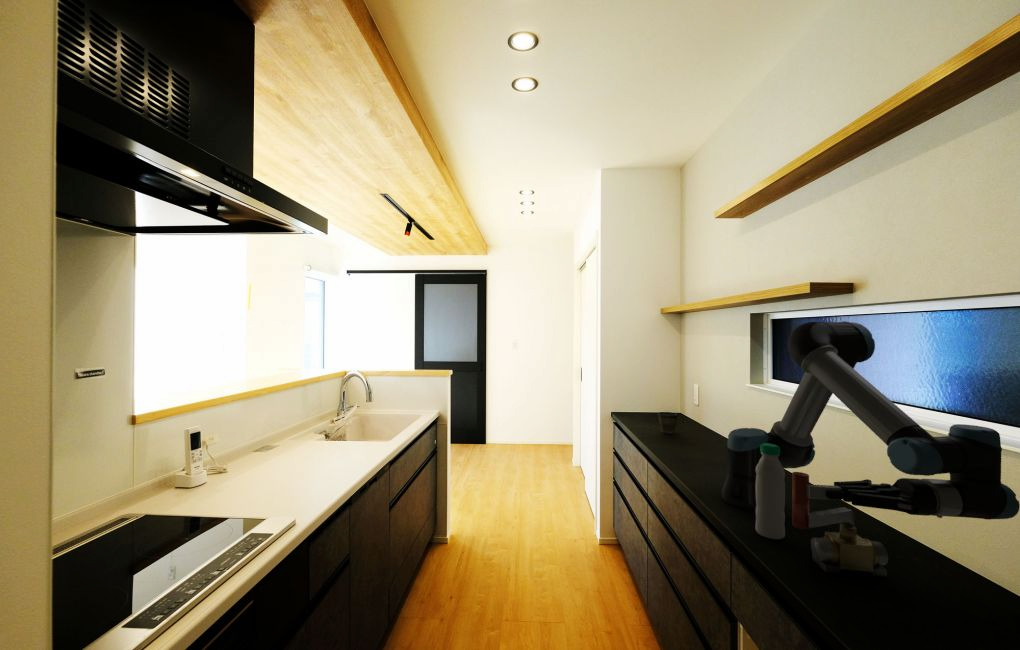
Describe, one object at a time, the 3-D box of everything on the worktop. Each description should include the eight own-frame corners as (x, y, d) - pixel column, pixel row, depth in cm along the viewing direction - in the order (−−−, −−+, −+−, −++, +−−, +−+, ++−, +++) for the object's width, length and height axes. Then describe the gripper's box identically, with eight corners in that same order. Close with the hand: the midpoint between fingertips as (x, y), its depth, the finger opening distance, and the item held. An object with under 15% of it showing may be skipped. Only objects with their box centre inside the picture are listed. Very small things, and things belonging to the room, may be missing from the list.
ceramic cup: (655, 432, 232) (655, 414, 232) (662, 428, 240) (662, 411, 240) (679, 436, 224) (679, 417, 224) (685, 432, 231) (685, 414, 231)
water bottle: (778, 529, 121) (778, 442, 121) (789, 541, 114) (789, 449, 114) (751, 527, 123) (751, 440, 123) (760, 539, 116) (760, 447, 116)
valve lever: (844, 521, 104) (844, 465, 104) (858, 527, 101) (858, 469, 101) (788, 531, 99) (788, 472, 99) (801, 538, 96) (801, 477, 96)
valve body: (823, 572, 100) (823, 530, 100) (809, 558, 106) (809, 518, 106) (889, 577, 98) (889, 534, 98) (871, 563, 104) (871, 522, 104)
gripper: (951, 528, 86) (825, 521, 89) (901, 502, 99) (792, 496, 102) (951, 491, 86) (825, 485, 89) (901, 469, 99) (792, 465, 102)
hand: (808, 491), depth 96 cm, fingers closed
